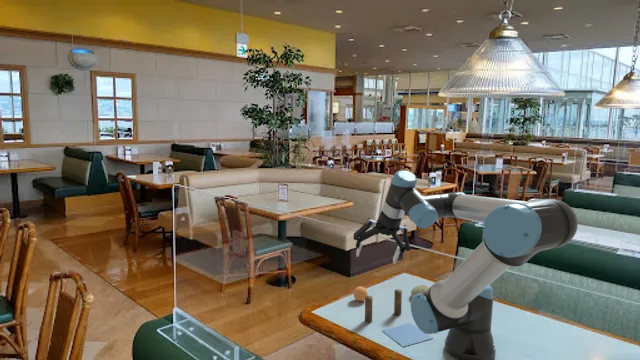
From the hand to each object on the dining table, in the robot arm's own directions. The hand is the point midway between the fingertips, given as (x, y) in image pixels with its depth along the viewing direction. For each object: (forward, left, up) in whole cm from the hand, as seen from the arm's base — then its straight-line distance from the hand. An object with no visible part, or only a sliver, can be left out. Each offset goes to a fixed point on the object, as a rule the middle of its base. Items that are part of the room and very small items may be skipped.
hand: (375, 257), depth 164 cm
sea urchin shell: (+4, -25, -22) cm, 34 cm away
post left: (-3, +5, -22) cm, 23 cm away
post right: (-3, -8, -22) cm, 23 cm away
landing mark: (-17, -2, -22) cm, 28 cm away
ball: (+13, -2, -19) cm, 23 cm away
